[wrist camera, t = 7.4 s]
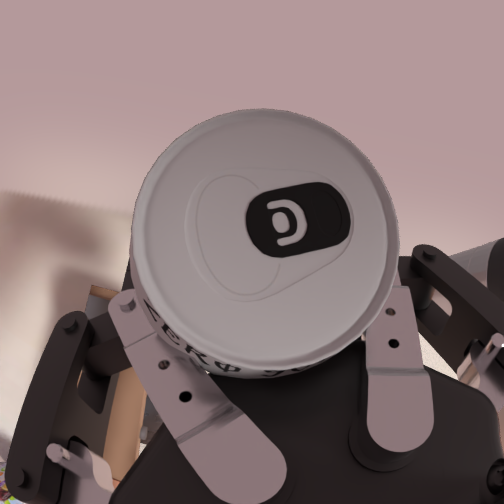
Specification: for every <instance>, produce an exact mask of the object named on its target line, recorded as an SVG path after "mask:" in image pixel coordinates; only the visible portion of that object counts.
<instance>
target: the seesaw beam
mask: <svg viewBox="0 0 504 504" xmlns="http://www.w3.org/2000/svg"><path fill="white" fill-rule="evenodd" d="M118 293H120V292H116V291H112V290H108V289H105V288H101V287H97V286H94V285H92V286H91V290H90V294H89V297H88V301H87V305H86V310H85V314H86V316H87V317H88V319H89V320H90V319H92V318H94V317H97V316H99V315H101V314H104V313H106V312H107V311H108V305H109V303H110V301H111V300H112V298H113V297H114V296H116V295H117V294H118ZM81 374H82V370H81V373H80V376H79V379H78V383H79V380H80V377H81ZM78 383H77V386H78ZM146 397H147V393H146V391H145V389H144V387H143V386H142V384H141V382H140V380H139V378H138V376H137V374H136V372H135V370H134V368H133V367H130V368H128V369H126V370H123V371H121V372H120V374H119V378H118V382H117V387H116V391H115V395H114V400H113V405H112V409H111V414H110V419H109V424H108V430H107V435H106V441H105V447H104V453H103V459H105V460H106V462H107V463H108V464H109V466H110V469H111V473H112V480H113V483H112V484H113V486H114V488H116V487H117V486H118V484H119V483H120V482H121V480H122V479H123V477H124V476H125V475H126V473H127V472H128V471H129V469H130V468H131V466H132V465H133V464H134V462H135V461H136V459H137V458H138V457H139V448H140V440H141V439H142V440H145V439H146V437H147V433H148V427H146V426H143V425H142V424H143V417H144V410H145V404H146Z"/></svg>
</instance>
